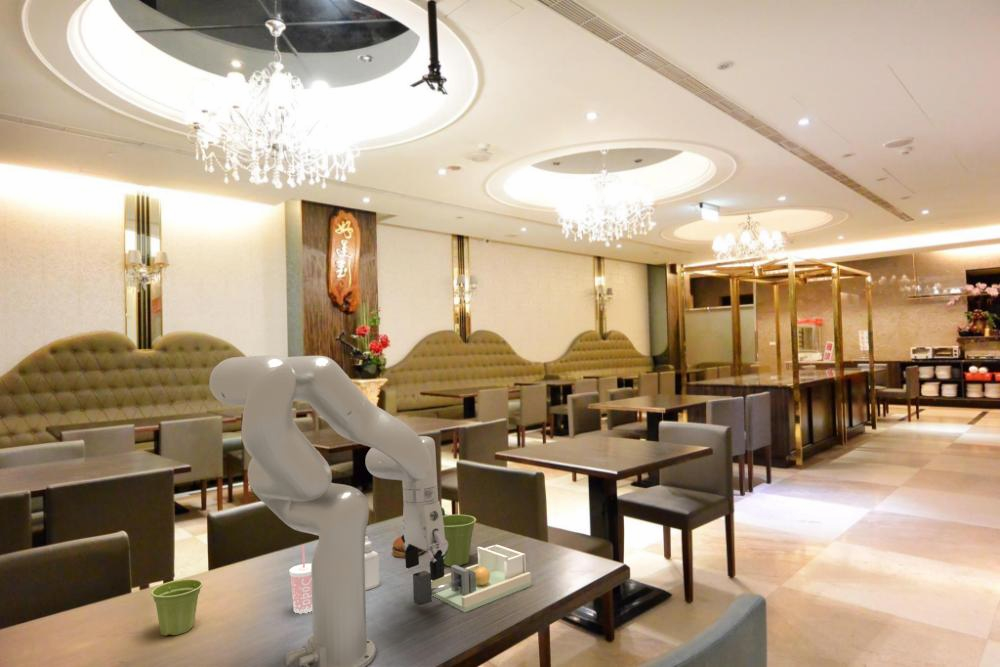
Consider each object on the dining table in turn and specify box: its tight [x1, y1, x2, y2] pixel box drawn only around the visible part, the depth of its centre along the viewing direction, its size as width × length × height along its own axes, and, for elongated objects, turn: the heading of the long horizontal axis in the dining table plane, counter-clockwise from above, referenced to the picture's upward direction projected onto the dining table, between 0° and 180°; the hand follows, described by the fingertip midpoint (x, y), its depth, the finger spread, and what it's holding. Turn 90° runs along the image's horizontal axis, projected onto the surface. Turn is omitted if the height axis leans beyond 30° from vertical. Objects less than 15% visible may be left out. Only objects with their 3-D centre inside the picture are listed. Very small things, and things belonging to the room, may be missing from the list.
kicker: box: [412, 566, 476, 607], centre depth 128 cm, size 14×5×6 cm, turn 131°
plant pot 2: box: [443, 514, 477, 567], centre depth 154 cm, size 12×12×11 cm
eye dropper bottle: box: [365, 536, 380, 591], centre depth 139 cm, size 4×6×12 cm
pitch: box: [431, 544, 532, 613], centre depth 135 cm, size 20×14×8 cm
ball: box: [474, 567, 490, 585], centre depth 135 cm, size 4×4×4 cm
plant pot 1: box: [150, 578, 204, 637], centre depth 120 cm, size 9×9×9 cm
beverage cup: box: [288, 544, 312, 615], centre depth 128 cm, size 6×6×14 cm
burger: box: [391, 535, 425, 559], centre depth 163 cm, size 10×9×5 cm
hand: (424, 572), depth 125 cm, fingers open, 9 cm apart
